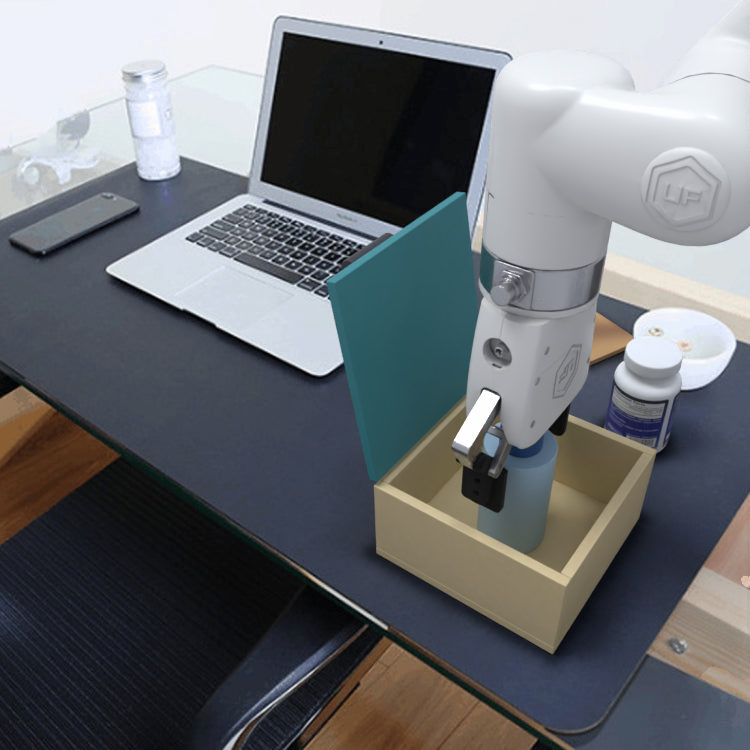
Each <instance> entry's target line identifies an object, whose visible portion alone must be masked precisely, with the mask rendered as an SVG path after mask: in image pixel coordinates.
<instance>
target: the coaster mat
mask: <svg viewBox="0 0 750 750" xmlns="http://www.w3.org/2000/svg"><path fill="white" fill-rule="evenodd" d="M633 336H634V335H632V334H630V333H629V332H628V331H626V330H624V329H623V328H621V327H620V326H619V325H617V324H616V323H614V322H612V321H611V320H610V319H608V318H607V317H605V316H604V315H602V314H600V313H599V312H598V311H596V318H595V326H594V334H593V342H592V349H591V356H590V363H589V367H590V366H592V365H595V364H598V363H600V362H601V361H604V360H606V359H609V358H611V357H613V356H616V355H618V354H621V353H622V352H625V349H626V346H627V344H628V343H629V342H630V341H631V340H633Z"/></svg>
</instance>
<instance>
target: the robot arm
mask: <svg viewBox="0 0 750 750" xmlns="http://www.w3.org/2000/svg"><path fill="white" fill-rule="evenodd" d="M491 101H492V102H491V112H490V113H491V114H490V126H489V140H488V152H487V168H486V181H485V193H484V194H485V195H484V209H483V219H482V220H483V221H482V234H481V235H482V236H481V246H480V247H481V248H480V260H479V261H480V262H479V271H478V272H479V273H478V288H479V291H480V293H481V294H482V296H483V297H482V298H481V302H480V307H479V310H478V311H479V315H478V320H477V325H476V330H475V335H474V341H473V346H472V353H471V359H470V366H469V374H468V383H467V395H466V415H467V419H466V421H465V422H464V424H463V426H462V427H461V429H460V431H459V432H458V434H457V436H456V437H455V439H454V441H453V443H452V447H451V448H452V451H453V453H454V455H455V456H456V462H458V463H460V464H462V465H463V473H462V487H461V493H462V495H463V496H464V497H466V498H468V499H470V500H471V501H473V502H475V503H476V504H479V505H481V506H483V507H485V508H487V509H489V510H491V511H493V512H495V513H499V512H500V511H501V510H502V509H503V507H504V500H505V492H506V483H507V475H508V470H506V468H504V464H505V462H506V459H507V457H508V455H509V452H510V450H511V447H512V445H513V446H516V447H518V448H520V449H525V448H528V447H530V446H531V445H533V444H534V443H536V442H537V441H538V440H539V439H540V438H541V437H542V435H543V434H544V433H545V432H546V431H547V430H549V431H550V432H551V433H552V434H554V435H556V436H562V435H563V434H564V433H565V431H566V427H567V422H568V416H569V415H570V409H571V404H572V402H573V400H574V399H575V398H576V397H577V395H578V394H579V393H580V391H581V390H582V388H583V386H584V385H585V383H586V381H587V378H588V376H589V375H588V374H589V370H590V366H589V363H590V356H591V349H592V342H593V334H594V326H595V318H596V312H597V304H598V299H599V296H600V293H601V291H600V290H601V286H602V281H603V275H604V270H605V264H606V259H607V254H608V249H609V248H608V247H609V240H610V237H611V232H612V227H613V226H612V225H613V223H615V224H618V225H620V226H622V227H624V228H627V229H629V230H630V231H634V232H636V233H639V234H642V235H644V236H646V237H649V238H652V239H654V240H657V241H660V242H663V243H667V244H672V245H677V246H682V247H708V246H713V245H717V244H721V243H724V242H727V241H729V240H732V239H733V238H735V237H738V236H739V235H740V234H742V233H744V232H745V231H746V230H747V229H749V228H750V0H739V1H737V3H735V4H734V5H733V7H731V8H730V9H729V10H728V11H727V12H726V13H725V14H724V15H723V16H722V17H721V18H720V19H719V20H718V21H717V22H716V23H715V24H714V25H713V26H712V27H711V28H710V29H709V30H707V31H706V32H705V33H704V34H703V35H702V36H701V37H700V38H699V39H698V40H697V41H696V42H695V43H694V44H693V45H692V46H691V47H690V48H689V49H688V50H687V51H686V52H685V53H684V54H683V55H682V56H681V57H680V58H679V59H678V60H677V61H676V63H674V64H673V66H672V67H671V68H670V69H669V71H667V73H666V74H665V75H664V77H663V78H662V79H661V81H660V82H659V83H658V85H656V87H655V89H652V90H648V91H640V92H638V91H637V89H636V85H635V81H634V78H633V77H632V74H631V72H630V70H628V69H627V68H626V67H625V66H624V65H623V64H622V63H621V62H619V61H618V60H616V59H614V58H611V57H609V56H606V55H602V54H600V53H595V52H591V51H585V50H579V49H560V48H559V49H544V50H538V51H534V52H533V51H532V52H529V53H525V54H522V55H519V56H516V57H515V58H513V59H512V60H511V61H509V62H507V64H505V65H504V66H503V68H502V69H501V70H500V72H499V73H498V76H497V77H496V80H495V83H494V86H493V94H492V100H491ZM497 415H500V422H501V425H502V428H503V429H502V428H500V427H498V426H496V425H493V424H492V423H493V421H494V420H495V418H496V416H497ZM486 433H489V434H491V435H493V436H495V437H497V438H500V439H501V440H500V443H499V445H498V447H497V450H496V452H495V455H494V457H492V456H490V455H487V454H485V453H483V452H481V448H480V446H481V443H482V440H483V438H484V437H485V435H486Z"/></svg>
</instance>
